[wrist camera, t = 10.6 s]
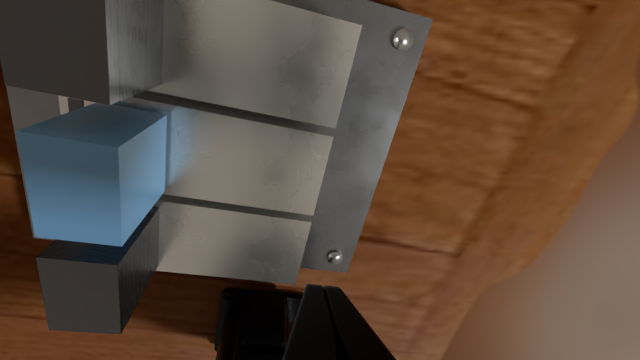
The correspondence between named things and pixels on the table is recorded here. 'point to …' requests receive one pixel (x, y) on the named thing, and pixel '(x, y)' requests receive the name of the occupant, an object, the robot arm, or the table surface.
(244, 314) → the robot arm
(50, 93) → the breaker board
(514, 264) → the table surface
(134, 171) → the blue toggle
